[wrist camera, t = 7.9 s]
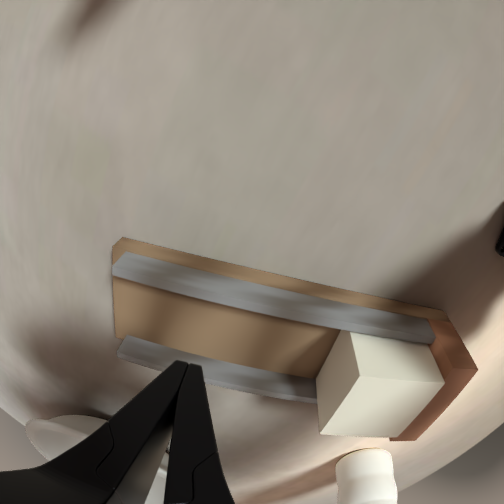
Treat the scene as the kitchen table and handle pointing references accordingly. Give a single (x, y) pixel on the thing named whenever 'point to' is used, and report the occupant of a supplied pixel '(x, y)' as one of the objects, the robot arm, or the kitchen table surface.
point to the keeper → (374, 385)
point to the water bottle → (366, 478)
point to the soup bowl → (74, 431)
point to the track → (263, 325)
